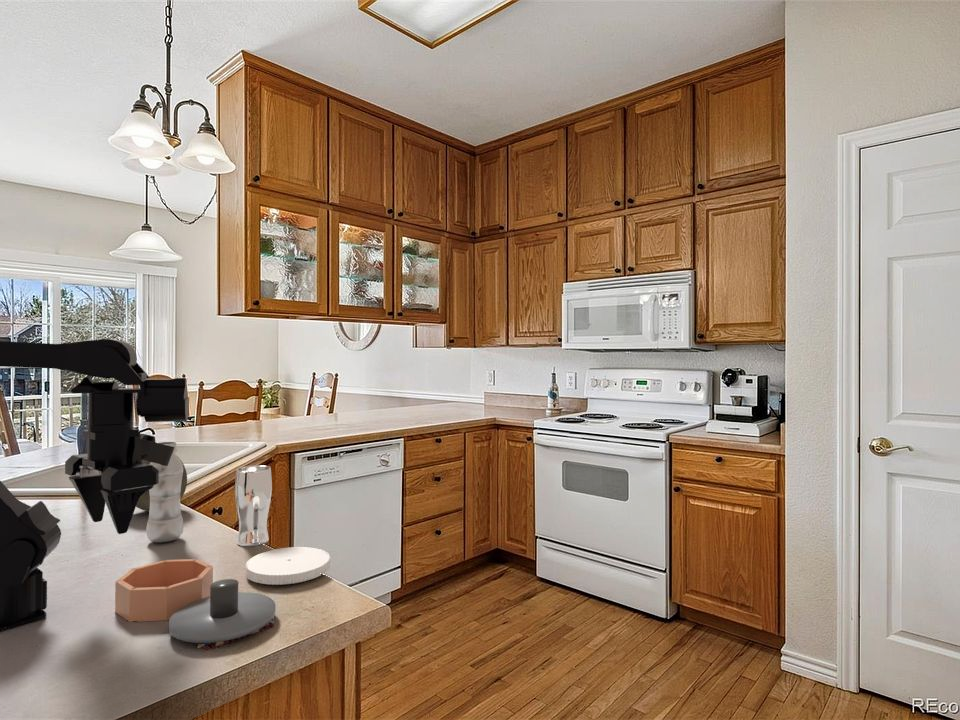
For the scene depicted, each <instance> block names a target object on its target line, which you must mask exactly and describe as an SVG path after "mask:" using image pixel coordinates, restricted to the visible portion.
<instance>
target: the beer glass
mask: <svg viewBox="0 0 960 720" xmlns="http://www.w3.org/2000/svg"><path fill="white" fill-rule="evenodd" d="M271 469H272V468H271V466H267V465H247V466H241V467H238V468H237V469H236V475H235V481H234V482H235V484H234V486H235V487H234V497H235V507H236V512H237V517H238V527H239V528H238V534H237V539H236V544H237V546H239V545H240V547H245V546H246V547H245V548H247V547H256V546H257V547H258V546H261V544H262V545H264V544H266V543H268V542H269V533H268V517H269V510H270V505H271V498H272V491H273V482H272V480H273V479H272V470H271ZM253 540H254V541H253ZM259 543H260V544H259Z"/></svg>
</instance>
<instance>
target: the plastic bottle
mask: <svg viewBox="0 0 960 720" xmlns="http://www.w3.org/2000/svg"><path fill="white" fill-rule="evenodd" d="M158 443H160V444H164V445H168V446H172V447H175V448H174V450H173V453H172V456H171V458H170V461H169V464H168V466H163V465H160V464H157V463H153V462H150V465H152V466H154V467H155V468H156V469H157V470H159V483H158V484H156V485H154V486H153V488H152V489H150V490H149V493H150V509H149V513H148V519H147V524H146V529H145V532H146V537H147V539H148V540H149V541H150V542H151V543H167V542H171V541H175V540H178V539H179V538H181V536H182V535H183V532H184V519H183V516H182V507H181V500H180V493H181V482H182V476H183V465H182V463H183V461H182V460H181V458H180V457H179V456H177V455H176V452H177V451H178V450H177V441H160V442H158ZM180 460H181V461H182V462H181V461H180Z"/></svg>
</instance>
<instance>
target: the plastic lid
mask: <svg viewBox="0 0 960 720" xmlns="http://www.w3.org/2000/svg"><path fill="white" fill-rule="evenodd" d="M330 568H331V555H330V554H329V552H327V551H325V549H324V550H323V549H320V548H316V547H309V546H294V547H293V546H291V547H281V548H275V549H271V550H267V551H263V552H261V553H258V554H256V555H254V556H252V557H251V558H249V559H248V560H247V562H246V563H245V576H246V578H247V580H249V581H251V582H253V583H258V584H261V585H268V586H269V585H273V586H275V585H277V586H278V585H281V586H282V585H290V584H298V583H302V582H306V581H309V580H313V579H316V578H318V577H321V576H322V575H324V574H326V573H327V571H329V570H330ZM320 573H321V574H322V575H321V574H320Z"/></svg>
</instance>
